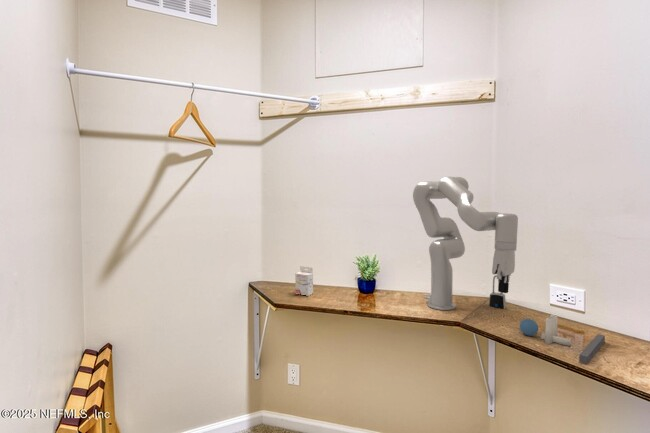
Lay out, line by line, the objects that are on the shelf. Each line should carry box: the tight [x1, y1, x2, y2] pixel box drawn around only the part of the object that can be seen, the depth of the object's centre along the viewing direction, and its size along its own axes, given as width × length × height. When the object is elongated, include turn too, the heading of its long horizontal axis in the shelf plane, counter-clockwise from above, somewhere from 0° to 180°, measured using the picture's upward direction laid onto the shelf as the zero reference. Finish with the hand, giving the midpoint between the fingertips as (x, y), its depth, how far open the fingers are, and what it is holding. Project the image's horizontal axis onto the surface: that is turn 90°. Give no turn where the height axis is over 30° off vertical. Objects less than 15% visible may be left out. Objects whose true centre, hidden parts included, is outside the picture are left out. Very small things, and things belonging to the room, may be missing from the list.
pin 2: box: [549, 314, 559, 337], centre depth 126 cm, size 2×2×8 cm
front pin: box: [540, 332, 572, 347], centre depth 123 cm, size 2×2×8 cm
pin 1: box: [544, 317, 554, 345], centre depth 122 cm, size 2×2×8 cm
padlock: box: [488, 274, 507, 310], centre depth 162 cm, size 7×4×15 cm, turn 53°
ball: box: [519, 318, 539, 337], centre depth 129 cm, size 6×6×6 cm
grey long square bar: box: [578, 333, 606, 365], centre depth 115 cm, size 2×24×2 cm, turn 131°
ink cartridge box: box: [294, 266, 314, 295], centre depth 186 cm, size 9×5×15 cm, turn 58°
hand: (503, 292), depth 136 cm, fingers closed
